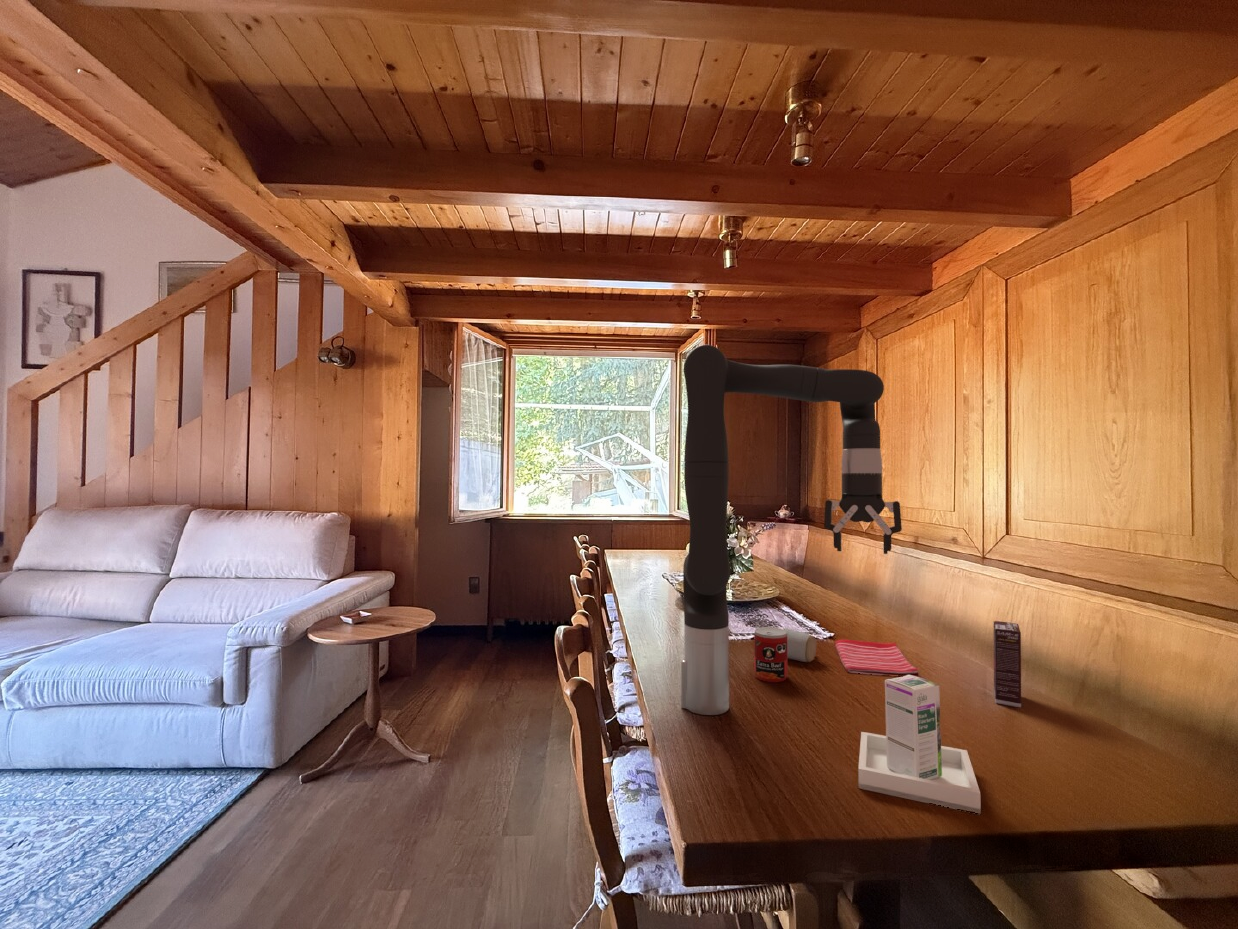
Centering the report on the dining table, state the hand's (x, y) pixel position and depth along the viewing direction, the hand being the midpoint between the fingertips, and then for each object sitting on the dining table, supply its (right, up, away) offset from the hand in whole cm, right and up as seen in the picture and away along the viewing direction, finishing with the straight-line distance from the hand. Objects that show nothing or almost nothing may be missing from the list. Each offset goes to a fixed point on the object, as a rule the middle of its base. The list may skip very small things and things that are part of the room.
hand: (862, 552), depth 113 cm
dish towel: (+18, -35, +35) cm, 53 cm away
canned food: (-12, -34, +23) cm, 42 cm away
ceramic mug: (-1, -34, +37) cm, 50 cm away
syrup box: (-2, -32, -23) cm, 39 cm away
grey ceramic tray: (-2, -33, -23) cm, 40 cm away
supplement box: (+36, -34, +9) cm, 50 cm away
